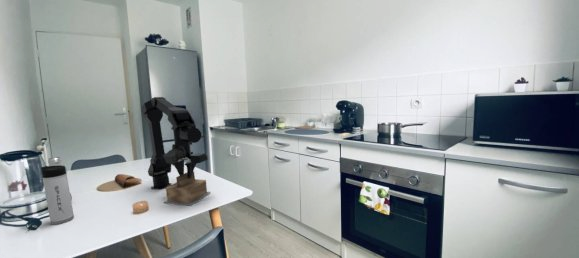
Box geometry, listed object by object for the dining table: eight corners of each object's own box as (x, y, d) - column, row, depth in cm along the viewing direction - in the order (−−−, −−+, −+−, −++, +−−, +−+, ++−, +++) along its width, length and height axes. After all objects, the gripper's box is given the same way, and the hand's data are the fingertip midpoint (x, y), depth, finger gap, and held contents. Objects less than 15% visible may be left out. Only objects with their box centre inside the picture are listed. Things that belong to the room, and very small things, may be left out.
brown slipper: (143, 183, 128) (134, 174, 125) (130, 193, 124) (120, 184, 121) (132, 176, 141) (124, 168, 137) (120, 186, 137) (111, 177, 134)
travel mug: (59, 217, 94) (50, 164, 91) (78, 215, 94) (69, 163, 92) (44, 225, 88) (34, 169, 85) (65, 223, 88) (55, 167, 86)
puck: (130, 213, 94) (129, 205, 94) (141, 207, 99) (140, 200, 98) (140, 214, 93) (139, 206, 92) (151, 208, 97) (150, 201, 97)
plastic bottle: (76, 202, 107) (69, 156, 105) (57, 209, 101) (49, 160, 98) (66, 201, 109) (58, 155, 107) (47, 208, 103) (38, 159, 100)
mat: (163, 203, 102) (163, 202, 102) (185, 191, 114) (185, 190, 114) (191, 205, 98) (191, 204, 98) (210, 192, 110) (210, 192, 110)
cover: (167, 201, 102) (164, 177, 101) (185, 191, 113) (183, 169, 112) (190, 203, 99) (187, 179, 98) (207, 192, 110) (204, 170, 108)
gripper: (147, 144, 98) (152, 183, 100) (188, 144, 93) (192, 186, 95) (168, 139, 109) (172, 174, 111) (206, 139, 103) (209, 176, 105)
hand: (185, 178), depth 105 cm, fingers open, 3 cm apart
